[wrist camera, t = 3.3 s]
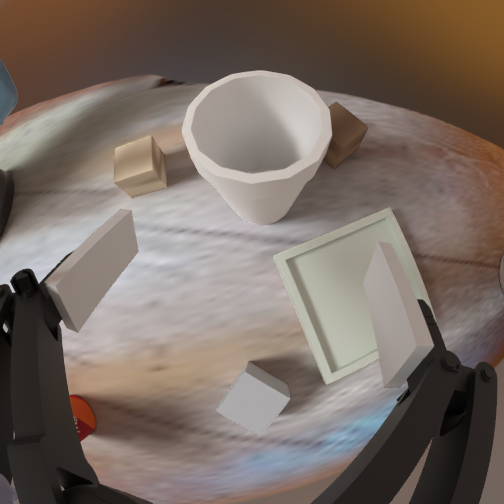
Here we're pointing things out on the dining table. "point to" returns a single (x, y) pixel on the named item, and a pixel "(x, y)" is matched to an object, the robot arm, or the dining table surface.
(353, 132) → the walnut block
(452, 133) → the dining table surface
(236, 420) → the grey painted block
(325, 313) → the tray
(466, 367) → the robot arm
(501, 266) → the coffee cup
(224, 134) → the foam cup
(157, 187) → the beech block
